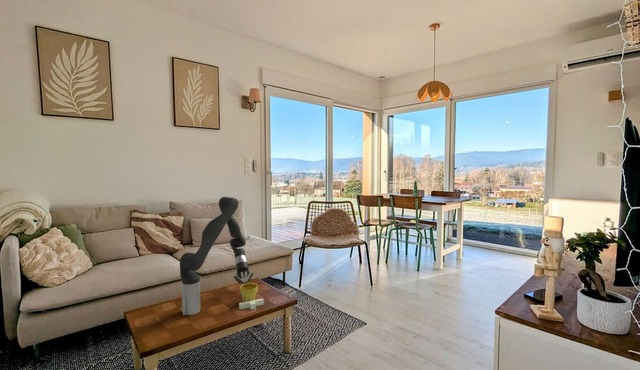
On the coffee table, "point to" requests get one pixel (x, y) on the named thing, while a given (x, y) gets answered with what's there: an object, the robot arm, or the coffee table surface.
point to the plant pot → (248, 291)
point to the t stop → (251, 304)
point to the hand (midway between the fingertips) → (245, 288)
